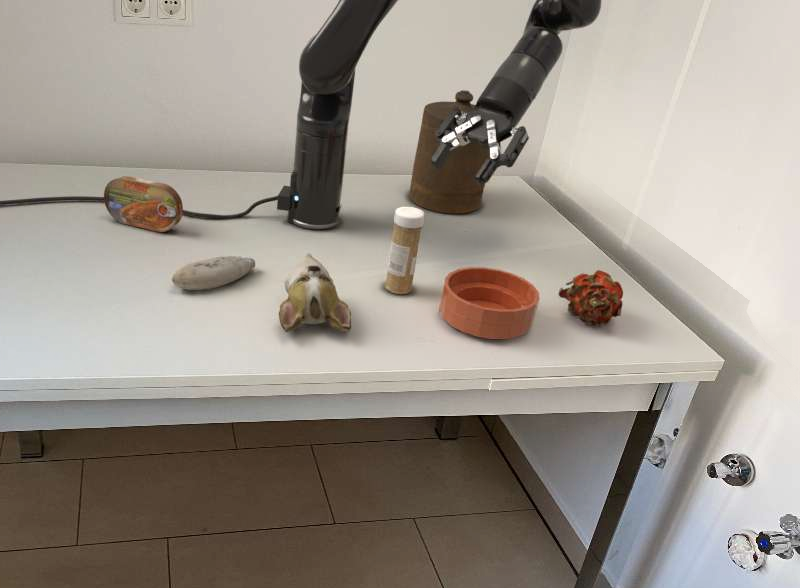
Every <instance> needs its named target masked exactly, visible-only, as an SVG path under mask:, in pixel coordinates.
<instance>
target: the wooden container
mask: <svg viewBox="0 0 800 588" xmlns="http://www.w3.org/2000/svg"><path fill="white" fill-rule="evenodd" d="M454 99H455V101H435V102H431V103H427V104H426V105H424V108H423V112H422V118H421V124H420V129H419V136H418V140H417V145H416V150H415V155H414V160H413V161H414V162H413V165H412V166H413V168H412V173H411V181H410V186H409V191H408V192H409V193H408V197H409V199H410V200H411V201H412V202H413V203H414V204H416V205H417V206H419V207H420V208H421V207H422V208H424V209H426V210H428V211H429V210H430V211H433V212H437V213H443V214H453V215H455V214H457V215H458V214H468V213H471V212H475V211H476V210H478V209H480V207H481V206H482V205H481V204H482V201H483V200H482V199H483V195H484V190H485V187H486V183H484V184H483V185H479V184H477V182H476V180H475V176H476V175H477V173H478V172H479V170H480V169H481V167H482V166H483V164H484V163H485V161H486V160H487V158H488V159H490V158H491V157H490V147H489V148H487V149H486V148H483V147H481V146H480V145H474V144H471V143H468V144H466V145H464V146H461V145H460V146H458V147H456V148H454V149H452V150H450V151H451V153H450V155H449V156H448V158H447V159H446V161H445V162H444V164H443V165H442V167H441V168H440V169H439V170H438V169H436V168H434V166H433V164H432V156H433V155H434V153H435V152H436V150H437V149H438V147H439V146H440V142H439V140H438V139H437V137H436V135H435V133H436V131H437V130H438V128H439V127H440V126H441V124H442V123H443V122H444V120H445V119H446V118H447V116H448V115H449V113H450V112H451V111H452V109H453V108H454V107H456V106H459V107H460V109H461V111H463V112H466V113H469V112H471V111H472V110H473V109H474V108H475V106H476V104H474V103H471V102H473V100H474V95H473V94H472V93H471V91H469V90H464V89H463V90H459V91H456V93H455V96H454ZM464 123H465V122H463V123H462V124H464ZM462 136H466V132H464V133H463V134H462Z"/></svg>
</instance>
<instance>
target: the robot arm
mask: <svg viewBox="0 0 800 588" xmlns="http://www.w3.org/2000/svg"><path fill="white" fill-rule="evenodd" d="M398 1H399V0H338V1H337V4H336V5H335V7H334V8H333V10H332V12H331V13H330V14H329V16H328V18H327V19H326V20H325V22H324V23H323V25H322V26H321V27H320V28H319V30H318V31H317V33H316V34H314V35H313V36H312V37H311V38H310V39H309V40H308V42H307V43H306V45H305V46H304V48H303V49H302V51H301V53H300V56H299V60H298V72H299V77H300V80H301V83H300V98H299V102H298V108H297V114H296V126H295V127H296V130H295V143H294V157H293V169H292V171H291V173H290V182H289V185H283V186H282V188H281V189H280V191H279V193H278V195H276V196H271V197H266V198H262V199H260V200H258V201H255V202H254V203H252V204H251V205H250V206H249V207H248V208H247V209H246V210H245V211H243V212H239V213H236V214H228V215H227V214H226V215H225V214H213V213H203V212H195V211H189V210H187V209H186V210H185V209H183V214H182V215H187V216H190V217H191V216H192V217H196V218H207V219H215V220H217V219H218V220H233V219H240V218H242V217H245V216H248V215H249V214H250V213H251V212H252V211H253V210H254V209H255V208H257V207H258V206H261V205H263V204H267V203H271V202H275V201H276V203H277V204H276V210H278V211H286V212H287V223H289V224H294V225H296V226H297V227H299V228H300V227H301V228H304V229H309V230H329V229H332V228H335V227H336V226H338V225H339V223H340V214H341V213H340V212H341V209H342V205H343V203H342V202H341V201H342V192H343V184H344V183H343V182H344V173H345V163H346V154H347V145H348V134H349V125H350V119H351V112H352V105H353V95H354V86H355V79H356V68H357V65H358V64H359V61H360V60H361V57H362V55H363V53H364V52H365V50H366V47H367V46H368V44H369V42H370V40H371V39H372V36H373V35H374V33H375V32H376V30H377V29H378V27H379V26H380V24H381V23H382V22H383V21H384V19H385V18H386V16H387V15H388V14H389V13H390V12H391V10H392V9H393V8H394V7H395V5H396V4H397V3H398ZM601 9H602V0H535V2H534V3H533V5H532V7H531V10H530V13H529V16H528V19H527V21H526V24H525V26H524V29H523V33H522V35H521V37H520V39H519V40H518V41H517V43H516V44H515V46H514V47H513V48H512V51H510V53H509V55H508V56H507V58H506V59H504V61H503V62H502V63H501V64H500V66H499V67H498V68H497V70H496V71H495V73H494V74H493V76H492V77H491V79H490V81H489V82H488V83H487V85H486V86H485V87H484V89H483V91H482V93H481V94H480V95H479V97H478V99H477V101H476V103H475V105H476V106H475V108H474V109H473V110H472V111H471V112H469V113H466V112H463V111H461V109H460V107H459V106H456V107H454V108H453V109H452V111H451V112H450V113H449V115H448V116H447V118H446V119H445V120H444V122H443V123H442V124H441V126H440V127H439V128H438V130H437V131H436V133H435V135H436V137H437V139H438V140H439V142H440V146H439V147H438V149H437V150H436V152H435V153H434V155H433V156H432V164H433V166H434V168H436V169H438V170H439V169H440V168H441V167H442V165H443V164H444V162H445V161H446V159H447V158H448V156H449V155H450V153H451V151H450V150H452V149H454V148H456V147H458V146H460V145H461V146H464V145H466V144H468V143H471V144H474V145H480V146H481V147H483V148H486V149H487V148H489V147H490V159H488V158H487V160H486V161H485V163H484V164H483V166H482V167H481V169H480V170H479V172H478V173H477V175H476V176H475V180H476V182H477V184H479V185H483V184H484V183H485V184H487V183H489V181H490V180H491V178H492V176H494V174H495V172H496V171H497V169H498V168H500V167H502V166H503V167H505V166H506V168H512V167H513V166H514V164H516V161H517V160H518V158H519V156H520V154H521V153H522V151H523V150H524V148H525V146H526V144H527V143H528V142H529V139H530V137H529V133H528V132H527V129H526V127H525V126H524V125H521V126H519V127H517V126H518V125H519V123H520V121H521V120H522V118H523V117H524V116H525V114H526V112H527V111H528V109H529V108H530V107H531V105H532V104H533V102H534V101H535V99H536V98H537V96H538V94H539V93H540V91H541V90H542V87H543V85H544V84H545V81H546V79H547V78H548V77H549V75H550V74H551V72H552V71H553V69H554V67H555V66H556V64H557V63H558V61H559V60H560V58H561V56H562V53H563V49H564V44H563V41H562V39H561V37H560V36H559V35H560V34H561V33H562V32H566V31H572V30H579V29H583V28H586V27H589V26H591V25H592V24H593V23H594V22H595V21H596V20H597V19H598V17H599V15H600V12H601ZM463 122H465V123H464V124H462V123H463ZM464 132H466V136H462V134H463V133H464ZM509 138H510V141H509V143H508V145H507V146H506V148H505V150H504V151H502V142H504V141H505V140H507V139H509ZM502 152H503V153H502ZM61 201H62V202H64V201H93V202H94V201H95V202H104V196H85V195H83V196H82V195H81V196H80V195H79V196H78V195H75V196H73V195H72V196H70V195H69V196H47V197H45V196H44V197H32V198H19V199H8V200H7V199H6V200H0V206H5V205H17V204H28V203H29V204H30V203H41V202H61Z"/></svg>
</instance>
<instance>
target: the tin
mask: <svg viewBox="0 0 800 588" xmlns="http://www.w3.org/2000/svg"><path fill="white" fill-rule="evenodd" d="M103 197H104V201H103V203H104V206H105V208H106V210H107V212H108V214H109V216H111V217H112V219H114V220H115V221H117V222H118V223H120V224H122V225H126V226H132V227H136V228H140V229H145V230H149V231H153V232H158V233H166V232H168V231H170V230H171V229H173V228H174V227H176V226H177V225H178V224H179V223H180V222H181V220H182V218H183V215H184V214H183V210H184V208H183V206H184V205H183V200H182V198H181V196H180V195H179V193H178V192H177V190H176V189H174V187H172V186H171V185H170V184H167V183H163V182H158V181H153V180H149V179H145V178H144V179H143V178H139V177H135V176H134V177H133V176H130V175H129V176H128V175H125V176H124V175H123V176H120V177H118V178H117V177H116V178H113V179H112V180H110V181H109V182H107V184H106V186H105V187H104V190H103Z"/></svg>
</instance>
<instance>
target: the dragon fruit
mask: <svg viewBox="0 0 800 588" xmlns="http://www.w3.org/2000/svg"><path fill="white" fill-rule="evenodd" d="M569 285H571V286H570V287H566V288H564V287H560V288H559V291H558V296H559V297H560V298H561V299H565V300H566V301H568V302H569V303H568V305H567V312H568V313H570V314H571V316H572V317H578V318H579V320H580V321H581V322H583V323H585V324H587V325H590V326H595V325H598V326H604V325H607V324H609V322H610V321H611V320H612V318H616V317H622V308H623V300H622V299H623V296H624V290H623V287H622V285H621V284H620V282H619V281H615V280H614V279H613V278H612V276H611V275H610V274H609V273H607V272H606V271H603V270H600V269H597V270H595V272H594V273H593V274H587V273H580V274H577V275H576V276H574V277H572V280H570V281H569V282H566V283H565V286H569Z"/></svg>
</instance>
